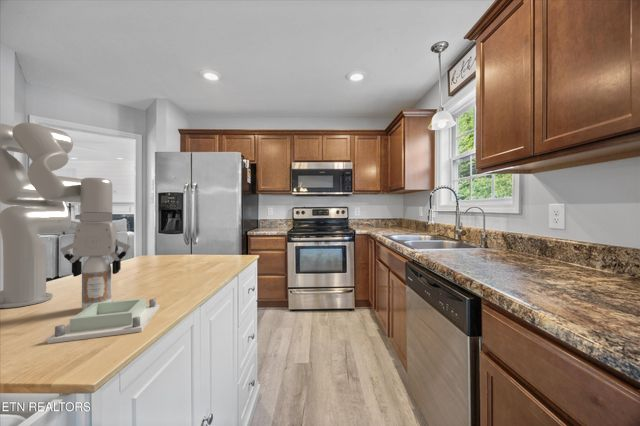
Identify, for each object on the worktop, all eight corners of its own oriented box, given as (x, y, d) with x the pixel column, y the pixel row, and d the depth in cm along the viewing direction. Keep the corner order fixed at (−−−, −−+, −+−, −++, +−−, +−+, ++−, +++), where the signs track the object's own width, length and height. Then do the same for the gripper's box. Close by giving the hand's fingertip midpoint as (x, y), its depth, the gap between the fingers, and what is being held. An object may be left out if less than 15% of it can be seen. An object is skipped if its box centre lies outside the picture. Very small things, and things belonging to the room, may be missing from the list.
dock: (47, 343, 60) (47, 325, 60) (87, 314, 77) (87, 300, 77) (141, 331, 65) (141, 315, 65) (159, 307, 82) (159, 294, 82)
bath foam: (79, 313, 77) (79, 244, 77) (84, 307, 83) (84, 242, 83) (110, 309, 81) (110, 243, 81) (112, 302, 87) (112, 241, 87)
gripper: (53, 219, 76) (53, 279, 76) (125, 218, 82) (125, 274, 82) (68, 218, 83) (68, 274, 83) (133, 218, 89) (134, 269, 89)
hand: (96, 274), depth 82 cm, fingers open, 9 cm apart
